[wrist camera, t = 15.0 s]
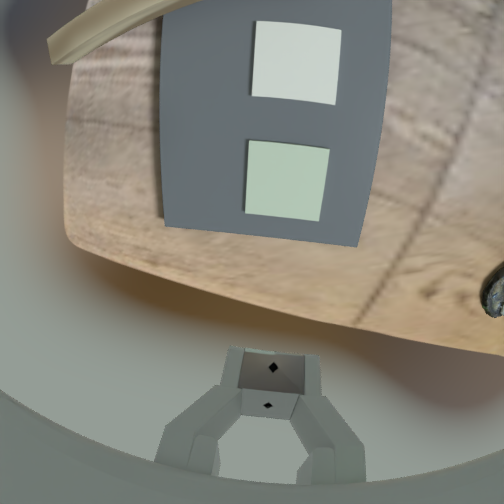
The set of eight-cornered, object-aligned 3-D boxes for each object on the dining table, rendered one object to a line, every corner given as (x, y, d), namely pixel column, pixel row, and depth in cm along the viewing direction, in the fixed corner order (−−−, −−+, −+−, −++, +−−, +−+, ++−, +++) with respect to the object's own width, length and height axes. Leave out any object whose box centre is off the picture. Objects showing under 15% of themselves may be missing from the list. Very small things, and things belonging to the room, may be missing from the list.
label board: (386, -20, 15) (399, -32, 12) (354, 240, 30) (361, 259, 27) (174, -32, 17) (160, -45, 14) (169, 220, 31) (156, 236, 28)
